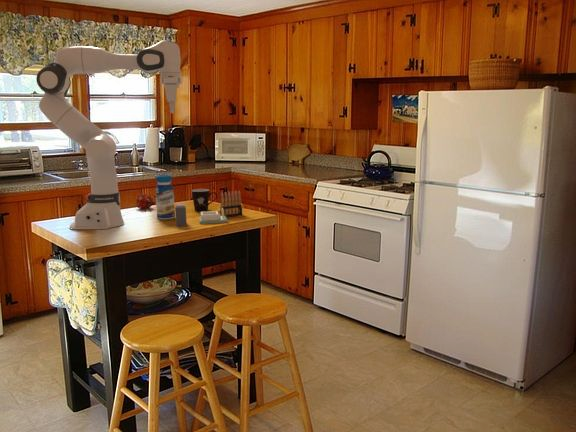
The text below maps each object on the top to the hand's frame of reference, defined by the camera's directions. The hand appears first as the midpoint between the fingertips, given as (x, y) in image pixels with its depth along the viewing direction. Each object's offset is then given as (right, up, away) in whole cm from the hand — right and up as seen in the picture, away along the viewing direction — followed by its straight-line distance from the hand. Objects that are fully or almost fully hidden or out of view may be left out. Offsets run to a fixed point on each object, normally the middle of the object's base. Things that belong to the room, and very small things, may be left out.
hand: (172, 112), depth 240 cm
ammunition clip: (+23, -45, +20) cm, 54 cm away
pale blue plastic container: (+16, -47, +9) cm, 50 cm away
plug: (+3, -49, +2) cm, 49 cm away
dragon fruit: (-22, -41, +41) cm, 62 cm away
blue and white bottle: (-7, -46, +17) cm, 49 cm away
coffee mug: (+8, -42, +35) cm, 55 cm away
